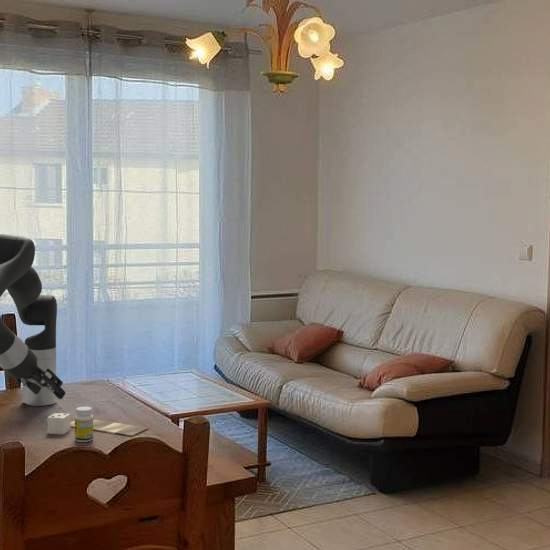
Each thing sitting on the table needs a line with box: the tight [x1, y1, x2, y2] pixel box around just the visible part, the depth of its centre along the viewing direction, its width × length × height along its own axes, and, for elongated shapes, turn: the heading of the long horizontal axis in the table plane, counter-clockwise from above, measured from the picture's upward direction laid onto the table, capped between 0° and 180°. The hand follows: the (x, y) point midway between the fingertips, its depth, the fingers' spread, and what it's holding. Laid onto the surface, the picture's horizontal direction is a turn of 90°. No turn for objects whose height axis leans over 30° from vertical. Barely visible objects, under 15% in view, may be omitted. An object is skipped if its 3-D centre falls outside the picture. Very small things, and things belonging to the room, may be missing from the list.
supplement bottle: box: [74, 406, 94, 443], centre depth 212 cm, size 5×5×8 cm
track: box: [70, 418, 149, 438], centre depth 224 cm, size 22×8×1 cm, turn 66°
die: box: [47, 412, 71, 435], centre depth 219 cm, size 4×4×5 cm
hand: (50, 393), depth 202 cm, fingers open, 8 cm apart
